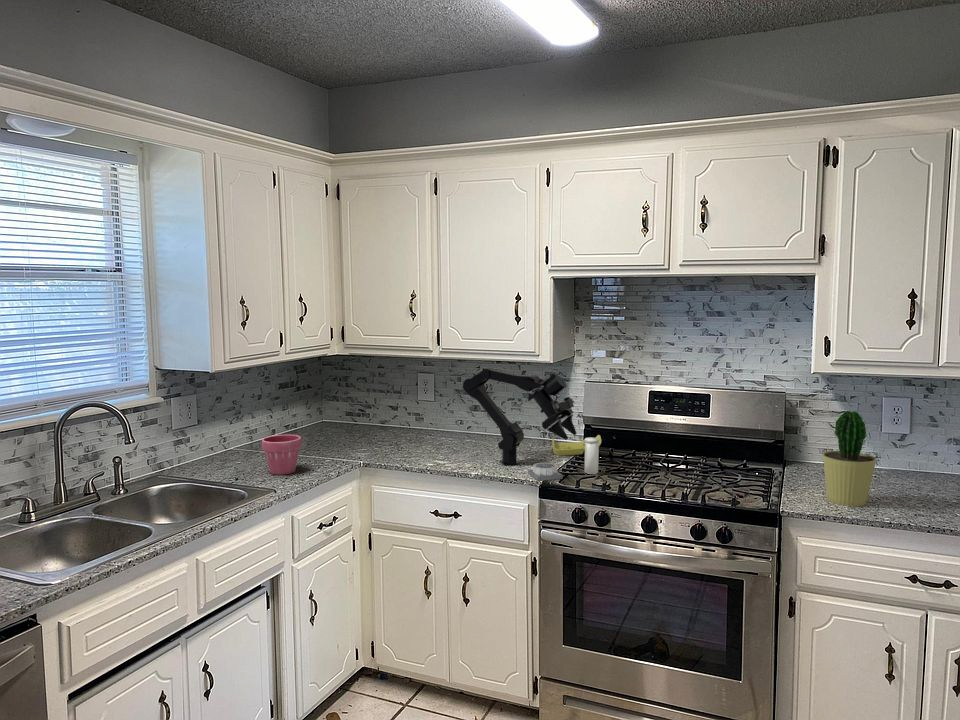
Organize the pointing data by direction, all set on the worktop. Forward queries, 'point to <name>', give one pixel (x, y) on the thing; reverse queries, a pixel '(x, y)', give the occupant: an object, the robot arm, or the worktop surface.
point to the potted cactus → (848, 463)
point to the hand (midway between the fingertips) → (571, 436)
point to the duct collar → (544, 472)
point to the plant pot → (281, 452)
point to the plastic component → (570, 447)
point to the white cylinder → (591, 455)
